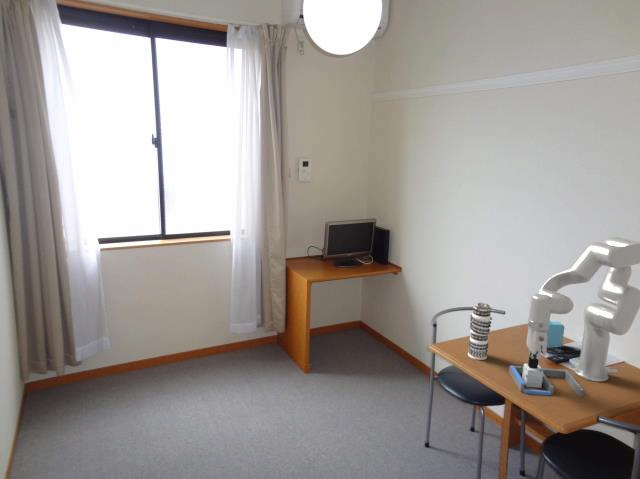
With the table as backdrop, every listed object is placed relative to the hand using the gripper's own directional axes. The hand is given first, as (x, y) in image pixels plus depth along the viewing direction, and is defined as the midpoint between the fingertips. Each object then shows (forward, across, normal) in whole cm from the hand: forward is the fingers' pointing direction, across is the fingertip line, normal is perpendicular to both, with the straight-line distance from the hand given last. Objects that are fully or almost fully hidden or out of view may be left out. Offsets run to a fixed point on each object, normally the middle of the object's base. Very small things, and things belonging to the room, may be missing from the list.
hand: (532, 367), depth 180 cm
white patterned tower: (+8, +23, +16) cm, 29 cm away
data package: (+7, +41, -20) cm, 46 cm away
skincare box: (+8, 0, 0) cm, 8 cm away
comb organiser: (+7, 0, -6) cm, 9 cm away
